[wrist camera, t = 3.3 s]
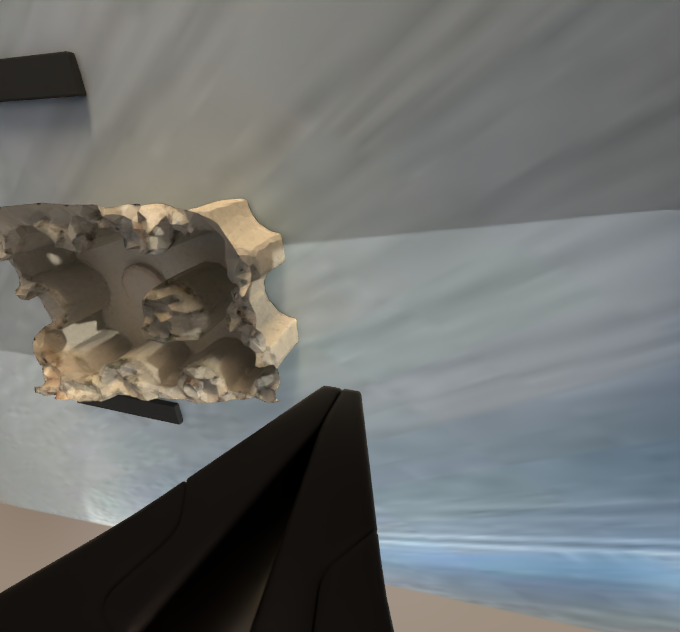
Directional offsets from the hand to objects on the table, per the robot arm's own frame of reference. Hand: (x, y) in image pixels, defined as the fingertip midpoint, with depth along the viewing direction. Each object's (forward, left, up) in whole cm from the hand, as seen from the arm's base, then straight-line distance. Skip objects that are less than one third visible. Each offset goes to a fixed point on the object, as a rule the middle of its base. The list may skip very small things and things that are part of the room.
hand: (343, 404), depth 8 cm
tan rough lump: (+9, 0, -6) cm, 10 cm away
